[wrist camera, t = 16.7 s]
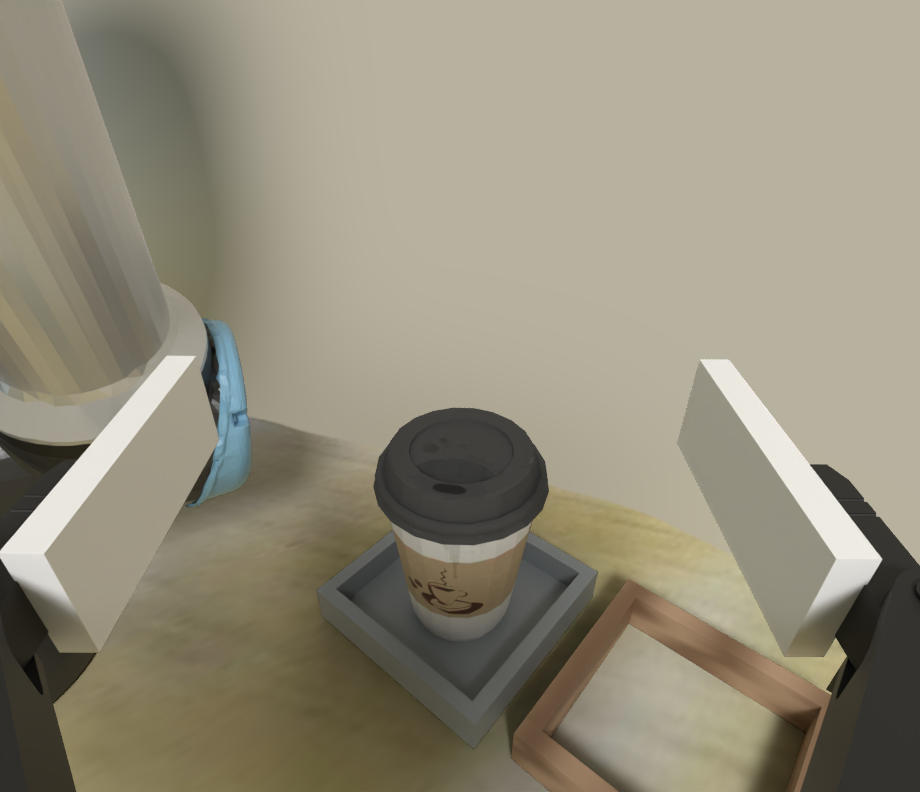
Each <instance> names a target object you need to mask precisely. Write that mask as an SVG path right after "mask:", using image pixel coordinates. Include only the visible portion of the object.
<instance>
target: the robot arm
mask: <svg viewBox="0 0 920 792" xmlns="http://www.w3.org/2000/svg"><path fill="white" fill-rule="evenodd" d="M677 444H678V446H679V448H680V450H681V452H682V454H683V455H684V458H685V460H686V461H687V463H688V466H689V467H690V470H691V471H692V474H693V475H694V477H695V480H696V482H697V483H698V485H699V487H700V489H701V491H702V493H703V495H704V497H705V499H706V501H707V503H708V505H709V507H710V509H711V511H712V513H713V515H714V517H715V519H716V521H717V523H718V525H719V527H720V529H721V531H722V533H723V535H724V537H725V539H726V541H727V543H728V545H729V547H730V549H731V551H732V553H733V555H734V557H735V559H736V561H737V563H738V565H739V567H740V569H741V571H742V573H743V575H744V577H745V579H746V581H747V583H748V585H749V587H750V589H751V591H752V593H753V595H754V597H755V599H756V601H757V603H758V605H759V607H760V609H761V611H762V613H763V615H764V617H765V619H766V621H767V623H768V625H769V627H770V629H771V631H772V633H773V635H774V637H775V639H776V641H777V643H778V645H779V647H780V649H781V651H782V653H783V655H784V657H824V656H825V654H826V653H827V651H828V649H829V648H830V646H831V644H832V643H833V641H834V639H835V638H837V640H838V642H839V643H840V645H841V647H842V648H843V650H844V652H845V653H846V655H847V657H846V659H845V660H844V662H843V663H842V665H841V667H840V668H839V670H838V671H837V673H836V674H835V676H834V678H833V679H832V681H831V682H830V684H829V685H828V687H827V689H826V690H828V691H830V692H832V695H831V698H830V701H829V704H828V707H827V710H826V713H825V716H824V719H823V722H822V725H821V729H820V732H819V735H818V738H817V741H816V744H815V747H814V750H813V753H812V756H811V759H810V763H809V766H808V769H807V772H806V775H805V778H804V781H803V784H802V787H801V790H800V792H920V566H919V564H918V563H917V562H916V561H915V559H914V558H913V557H912V556H911V555H910V553H909V552H908V551H907V550H906V549H905V547H904V546H903V545H902V544H901V543H900V541H899V540H898V539H897V538H896V537H895V535H894V534H893V533H892V532H891V531H890V529H889V528H888V527H887V526H886V525H885V523H884V522H883V521H882V520H881V518H880V517H876V512H875V511H874V510H873V509H872V507H871V506H870V505H869V504H868V503H867V502H864V498H863V497H862V496H861V494H860V493H859V492H858V491H857V489H856V488H855V487H854V486H853V485H852V484H851V482H850V481H849V480H848V479H846V478H845V477H844V476H842V475H841V474H839V473H838V472H837V471H835V470H834V469H832V468H831V467H829V466H828V465H811V464H809V463H808V462H807V461H806V459H805V458H804V457H803V455H802V454H801V453H800V451H799V450H798V449H797V448H796V446H795V445H794V444H793V442H792V441H791V440H790V439H789V437H788V436H787V435H786V434H785V432H784V431H783V429H782V428H781V427H780V425H779V424H778V423H777V422H776V420H775V419H774V418H773V416H772V415H771V414H770V412H769V411H768V410H767V409H766V407H765V406H764V405H763V404H762V402H761V401H760V399H759V398H758V397H757V396H756V394H755V393H754V392H753V390H752V389H751V388H750V386H749V385H748V384H747V383H746V381H745V380H744V379H743V377H742V376H741V375H740V373H739V372H738V371H737V370H736V368H735V367H734V366H733V364H732V363H731V362H730V360H703V359H702V360H701V359H700V360H699V364H698V367H697V371H696V375H695V379H694V383H693V386H692V390H691V393H690V397H689V401H688V405H687V408H686V412H685V416H684V420H683V423H682V427H681V431H680V434H679V438H678V442H677ZM251 462H252V448H251V433H250V424H249V419H248V416H247V403H246V392H245V385H244V379H243V374H242V368H241V364H240V359H239V354H238V350H237V346H236V343H235V339H234V336H233V334H232V331H231V329H230V327H229V326H228V325H227V324H226V323H224V322H222V321H220V320H209V319H205V318H202V319H201V317H200V316H199V313H198V312H197V310H196V309H195V307H194V306H193V305H192V304H191V303H190V302H189V301H188V300H187V299H186V298H185V297H184V296H183V295H181V294H180V293H178V292H177V291H175V290H173V289H171V288H170V287H168V286H166V285H164V284H161V283H160V282H159V280H158V276H157V273H156V271H155V268H154V265H153V262H152V259H151V256H150V253H149V250H148V248H147V245H146V242H145V239H144V237H143V233H142V230H141V227H140V225H139V222H138V219H137V216H136V213H135V210H134V207H133V204H132V202H131V199H130V196H129V193H128V190H127V187H126V184H125V181H124V179H123V176H122V173H121V170H120V167H119V164H118V161H117V158H116V155H115V153H114V150H113V147H112V144H111V141H110V138H109V135H108V132H107V129H106V127H105V124H104V121H103V118H102V115H101V113H100V110H99V107H98V104H97V101H96V98H95V95H94V93H93V89H92V86H91V84H90V81H89V78H88V75H87V72H86V69H85V66H84V63H83V61H82V58H81V55H80V52H79V49H78V46H77V43H76V40H75V38H74V34H73V32H72V29H71V26H70V23H69V20H68V17H67V14H66V11H65V9H64V6H63V3H62V0H0V792H76V789H75V785H74V781H73V778H72V774H71V770H70V766H69V763H68V759H67V755H66V751H65V747H64V744H63V740H62V736H61V732H60V728H59V725H58V721H57V717H56V713H55V710H54V706H53V702H54V701H55V700H56V699H57V698H58V697H59V696H61V695H62V694H63V693H64V692H65V691H66V690H67V688H68V687H69V686H70V685H71V684H72V683H73V682H74V681H75V680H76V678H77V677H78V676H79V675H80V673H81V672H82V671H83V670H84V668H85V667H86V665H87V664H88V662H89V661H90V659H91V658H92V656H93V654H94V653H100V651H101V649H102V647H103V646H104V644H105V642H106V640H107V639H108V637H109V635H110V633H111V631H112V630H113V628H114V626H115V624H116V623H117V621H118V619H119V617H120V616H121V614H122V612H123V610H124V608H125V607H126V605H127V603H128V601H129V600H130V598H131V596H132V594H133V592H134V591H135V589H136V587H137V585H138V584H139V582H140V580H141V578H142V577H143V575H144V573H145V571H146V569H147V568H148V566H149V564H150V562H151V561H152V559H153V557H154V555H155V553H156V552H157V550H158V548H159V546H160V545H161V543H162V541H163V539H164V538H165V536H166V534H167V532H168V530H169V529H170V527H171V525H172V523H173V522H174V520H175V518H176V516H177V514H178V513H179V511H180V509H181V507H182V506H187V507H193V506H198V505H200V504H201V503H203V502H204V501H205V500H207V499H211V498H214V497H217V496H220V495H223V494H226V493H230V492H233V491H235V490H236V489H238V488H240V487H241V486H242V485H243V484H244V483H245V481H246V480H247V478H248V476H249V473H250V470H251Z"/></svg>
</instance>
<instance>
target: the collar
mask: <svg viewBox="0 0 920 792" xmlns="http://www.w3.org/2000/svg"><path fill="white" fill-rule="evenodd" d="M629 623H630V624H631V625H633V626H634V627H636V628H638V629H639V630H641V631H643V632H644V633H646V634H647V635H649V636H651V637H652V638H654V639H656V640H657V641H659V642H660V643H662V644H664V645H665V646H667V647H669V648H670V649H672V650H673V651H675V652H677V653H678V654H680V655H681V656H683V657H685V658H686V659H688V660H690V661H691V662H693V663H694V664H696V665H698V666H699V667H701V668H703V669H704V670H706V671H707V672H709V673H711V674H712V675H714V676H715V677H717V678H719V679H720V680H722V681H724V682H725V683H727V684H728V685H730V686H732V687H733V688H735V689H737V690H738V691H740V692H741V693H743V694H745V695H746V696H748V697H750V698H751V699H753V700H754V701H756V702H758V703H759V704H761V705H762V706H764V707H766V708H767V709H769V710H771V711H772V712H774V713H775V714H777V715H779V716H780V717H782V718H784V719H785V720H787V721H788V722H790V723H792V724H793V725H795V726H797V727H798V728H800V729H801V730H803V731H805V735H804V738H803V741H802V744H801V747H800V750H799V753H798V756H797V759H796V762H795V765H794V768H793V771H792V774H791V777H790V780H789V783H788V786H787V789H786V792H800V790H801V787H802V784H803V781H804V778H805V775H806V772H807V769H808V766H809V763H810V759H811V756H812V753H813V750H814V747H815V744H816V741H817V738H818V735H819V732H820V729H821V725H822V722H823V719H824V716H825V713H826V710H827V707H828V704H829V701H830V698H831V695H830V694H828V693H826V692H825V691H823V690H821V689H819V688H818V687H816V686H814V685H812V684H811V683H809V682H807V681H805V680H804V679H802V678H800V677H798V676H797V675H795V674H793V673H791V672H790V671H788V670H786V669H784V668H783V667H781V666H779V665H778V664H776V663H774V662H772V661H771V660H769V659H767V658H765V657H764V656H762V655H760V654H758V653H757V652H755V651H753V650H751V649H750V648H748V647H746V646H744V645H743V644H741V643H739V642H737V641H736V640H734V639H732V638H730V637H729V636H727V635H725V634H723V633H722V632H720V631H718V630H716V629H715V628H713V627H711V626H710V625H708V624H706V623H704V622H703V621H701V620H699V619H697V618H696V617H694V616H692V615H690V614H689V613H687V612H685V611H683V610H682V609H680V608H678V607H676V606H675V605H673V604H671V603H669V602H668V601H666V600H664V599H662V598H661V597H659V596H657V595H655V594H654V593H652V592H650V591H648V590H647V589H645V588H643V587H641V586H640V585H638V584H636V583H635V582H633V581H631V580H629V579H628V580H627V581H626V583H625V584H624V586H623V587H622V588H621V590H620V591H619V592H618V594H617V595H616V596H615V598H614V599H613V600H612V602H611V603H610V604H609V606H608V607H607V608H606V610H605V611H604V612H603V614H602V615H601V617H600V618H599V619H598V621H597V622H596V623H595V625H594V626H593V627H592V629H591V630H590V631H589V633H588V634H587V635H586V637H585V638H584V639H583V641H582V642H581V644H580V645H579V646H578V648H577V649H576V650H575V652H574V653H573V654H572V656H571V657H570V658H569V660H568V661H567V662H566V664H565V665H564V666H563V668H562V669H561V670H560V672H559V673H558V675H557V676H556V677H555V679H554V680H553V681H552V683H551V684H550V685H549V687H548V688H547V689H546V691H545V692H544V693H543V695H542V696H541V697H540V699H539V700H538V701H537V703H536V704H535V706H534V707H533V708H532V710H531V711H530V712H529V714H528V715H527V716H526V718H525V719H524V720H523V722H522V723H521V724H520V726H519V727H518V728H517V730H516V731H515V732H514V737H513V746H512V754H511V759H513V760H514V761H515V762H516V763H517V764H518V765H520V766H521V767H522V768H523V769H524V770H526V771H527V772H528V773H529V774H530V775H531V776H533V777H534V778H535V779H536V780H537V781H538V782H540V783H541V784H542V785H543V786H544V787H545V788H547V789H548V790H549V791H550V792H618V791H617V790H616V789H615V788H613V787H612V786H611V785H610V784H608V783H607V782H606V781H605V780H603V779H602V778H601V777H600V776H598V775H597V774H596V773H594V772H593V771H592V770H591V769H589V768H588V767H587V766H586V765H584V764H583V763H582V762H581V761H579V760H578V759H577V758H576V757H574V756H573V755H572V754H571V753H569V752H568V751H567V750H566V749H564V748H563V747H562V746H560V745H559V744H558V743H557V742H555V741H554V740H553V739H552V738H551V736H552V735H553V733H554V732H555V730H556V729H557V727H558V726H559V725H560V723H561V722H562V720H563V719H564V717H565V716H566V714H567V713H568V711H569V710H570V708H571V707H572V706H573V704H574V703H575V701H576V700H577V698H578V697H579V695H580V694H581V692H582V691H583V690H584V688H585V687H586V685H587V684H588V682H589V681H590V679H591V678H592V676H593V675H594V674H595V672H596V671H597V669H598V668H599V666H600V665H601V663H602V662H603V660H604V659H605V658H606V656H607V655H608V653H609V652H610V650H611V649H612V647H613V646H614V644H615V643H616V642H617V640H618V639H619V637H620V636H621V634H622V633H623V631H624V630H625V628H626V627H627V625H628V624H629Z"/></svg>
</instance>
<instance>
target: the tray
mask: <svg viewBox="0 0 920 792" xmlns="http://www.w3.org/2000/svg"><path fill="white" fill-rule="evenodd" d="M597 573H598V572H597V571H596V570H594V569H592V568H590V567H589V566H587V565H585V564H584V563H582V562H580V561H578V560H577V559H575V558H573V557H572V556H570V555H568V554H566V553H565V552H563V551H561V550H560V549H558V548H556V547H554V546H553V545H551V544H549V543H548V542H546V541H544V540H542V539H541V538H539V537H537V536H536V535H534V534H532V533H531V532H529V534H528V538H527V541H526V545H525V549H524V552H523V556H522V559H521V563H520V566H519V570H518V573H517V577H516V580H515V584H514V588H513V591H512V595H511V598H510V602H509V605H508V607H507V610H506V613H505V615H504V616H503V617H502V619H501V621H500V622H499V623H498V625H497V626H496V627H495V628H494V630H493V631H491V632H489V633H488V634H486V635H485V636H483V637H481V638H478V639H475V640H471V641H467V642H461V641H449V640H446V639H443V638H440V637H437V636H436V635H434V634H433V633H431V632H430V631H429V630H427V629H426V628H425V627H424V625H423V624H422V623H421V621H420V620H419V618H418V616H417V615H416V613H415V612H414V610H413V606H412V602H411V598H410V594H409V590H408V587H407V583H406V579H405V575H404V571H403V567H402V564H401V560H400V556H399V552H398V548H397V544H396V540H395V537H394V533H393V530H392V531H391V532H390V533H389V534H387V535H386V536H385V537H383V538H382V539H381V540H380V541H378V542H377V543H376V544H375V545H373V546H372V547H371V548H369V549H368V550H367V551H366V552H364V553H363V554H362V555H361V556H359V557H358V558H357V559H355V560H354V561H353V562H352V563H350V564H349V565H348V566H347V567H345V568H344V569H343V570H341V571H340V572H339V573H338V574H336V575H335V576H334V577H333V578H331V579H330V580H329V581H328V582H326V583H325V584H324V585H322V586H321V587H320V588H319V589H317V595H318V600H319V605H320V610H321V615H322V616H323V617H324V618H325V619H326V620H327V621H328V622H329V623H331V624H332V625H333V626H334V627H335V628H336V629H337V630H339V631H340V632H341V633H342V634H343V635H344V636H345V637H347V638H348V639H349V640H350V641H351V642H352V643H353V644H354V645H356V646H357V647H358V648H359V649H360V650H361V651H362V652H364V653H365V654H366V655H367V656H368V657H369V658H370V659H372V660H373V661H374V662H375V663H376V664H377V665H378V666H379V667H381V668H382V669H383V670H384V671H385V672H386V673H387V674H389V675H390V676H391V677H392V678H393V679H394V680H395V681H397V682H398V683H399V684H400V685H401V686H402V687H403V688H404V689H406V690H407V691H408V692H409V693H410V694H411V695H412V696H414V697H415V698H416V699H417V700H418V701H419V702H420V703H422V704H423V705H424V706H425V707H426V708H427V709H428V710H430V711H431V712H432V713H433V714H434V715H435V716H436V717H437V718H439V719H440V720H441V721H442V722H443V723H444V724H445V725H447V726H448V727H449V728H450V729H451V730H452V731H453V732H455V733H456V734H457V735H458V736H459V737H460V738H461V739H462V740H464V741H465V742H466V743H467V744H468V745H469V746H470V747H472V748H473V749H474V748H475V747H476V746H477V744H478V743H479V742H480V741H481V739H482V738H483V737H484V736H485V734H486V733H487V732H488V730H489V729H490V728H491V727H492V725H493V724H494V723H495V721H496V720H497V719H498V718H499V716H500V715H501V714H502V712H503V711H504V710H505V709H506V707H507V706H508V705H509V703H510V702H511V701H512V700H513V698H514V697H515V696H516V695H517V693H518V692H519V691H520V689H521V688H522V687H523V686H524V684H525V683H526V682H527V680H528V679H529V678H530V677H531V675H532V674H533V673H534V671H535V670H536V669H537V668H538V666H539V665H540V664H541V662H542V661H543V660H544V659H545V657H546V656H547V655H548V654H549V652H550V651H551V650H552V648H553V647H554V646H555V645H556V643H557V642H558V641H559V639H560V638H561V637H562V636H563V634H564V633H565V632H566V630H567V629H568V628H569V627H570V625H571V624H572V623H573V621H574V620H575V619H576V618H577V616H578V615H579V614H580V613H581V611H582V610H583V609H584V607H585V606H586V605H587V604H588V602H589V601H590V600H591V598H592V597H593V593H594V588H595V583H596V578H597Z"/></svg>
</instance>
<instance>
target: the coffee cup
mask: <svg viewBox="0 0 920 792" xmlns="http://www.w3.org/2000/svg"><path fill="white" fill-rule="evenodd" d="M374 490H375V494H376V499H377V503H378V506H379V507H380V508H381V509H382V511H383V512H384V513H385V515H386V516H387V517H388V518H389V520H390V521H391V525H392V529H393V533H394V537H395V540H396V544H397V548H398V552H399V556H400V560H401V564H402V567H403V571H404V575H405V579H406V583H407V587H408V590H409V594H410V598H411V602H412V606H413V610H414V612H415V613H416V615H417V616H418V618H419V620H420V621H421V623H422V624H423V625H424V627H425V628H426V629H427V630H429V631H430V632H431V633H433V634H434V635H436V636H437V637H440V638H443V639H446V640H449V641H461V642H467V641H471V640H475V639H478V638H481V637H483V636H485V635H486V634H488V633H489V632H491V631H493V630H494V628H495V627H496V626H497V625H498V623H499V622H500V621H501V619H502V617H503V616H504V615H505V613H506V610H507V607H508V605H509V602H510V598H511V595H512V591H513V588H514V584H515V580H516V577H517V573H518V570H519V566H520V563H521V559H522V556H523V552H524V549H525V545H526V541H527V538H528V534H529V531H530V527H531V524H532V520H533V519H534V518H535V517H536V516H537V515H538V514H539V513H540V512H541V511H542V509H543V507H544V504H545V501H546V498H547V495H548V492H549V489H548V479H547V472H546V465H545V461H544V459H543V458H542V456H541V454H540V453H539V451H538V450H537V448H536V447H535V445H534V444H533V443H532V441H531V440H530V438H529V437H528V435H527V434H526V432H525V431H524V430H523V429H522V428H520V427H519V426H518V425H517V424H515V423H514V422H513V421H511V420H509V419H507V418H505V417H502V416H500V415H498V414H495V413H493V412H489V411H484V410H479V409H474V408H449V409H444V410H437V411H432V412H430V413H427V414H424V415H422V416H419V417H416V418H414V419H413V420H411V421H410V422H408V423H407V424H406V425H404V426H403V427H401V428H400V429H399V431H398V432H397V433H396V434H395V436H394V437H393V438H392V440H391V442H390V443H389V445H388V446H387V447H386V449H385V450H384V451H383V453H382V454H381V455H380V457H379V460H378V464H377V469H376V473H375V482H374Z"/></svg>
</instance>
